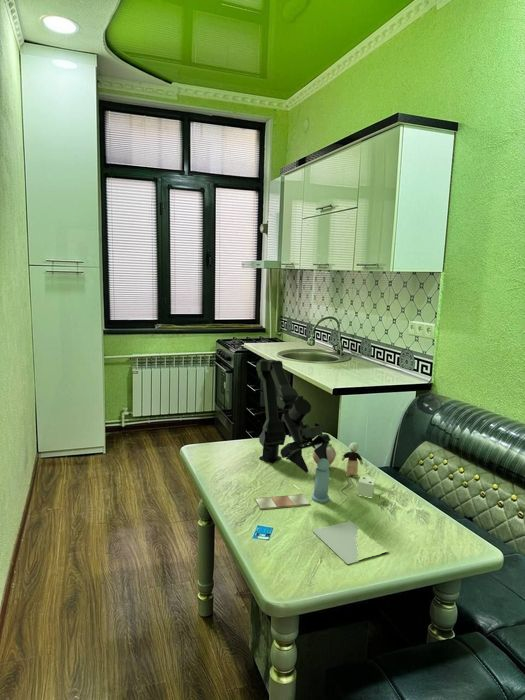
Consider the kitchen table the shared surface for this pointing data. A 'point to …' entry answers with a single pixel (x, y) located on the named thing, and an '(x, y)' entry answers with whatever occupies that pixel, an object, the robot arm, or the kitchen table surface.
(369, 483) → the die
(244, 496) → the kitchen table surface
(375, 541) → the kitchen table surface
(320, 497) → the pawn
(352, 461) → the grandmother figurine
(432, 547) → the kitchen table surface
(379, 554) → the kitchen table surface
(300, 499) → the board
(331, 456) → the decorative fruit
